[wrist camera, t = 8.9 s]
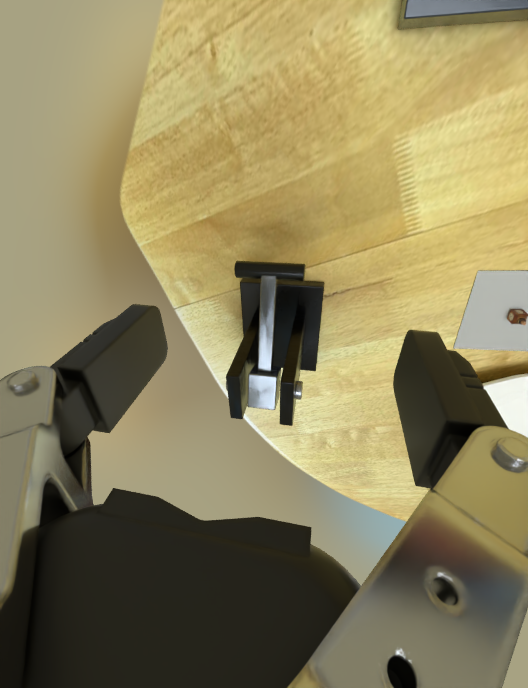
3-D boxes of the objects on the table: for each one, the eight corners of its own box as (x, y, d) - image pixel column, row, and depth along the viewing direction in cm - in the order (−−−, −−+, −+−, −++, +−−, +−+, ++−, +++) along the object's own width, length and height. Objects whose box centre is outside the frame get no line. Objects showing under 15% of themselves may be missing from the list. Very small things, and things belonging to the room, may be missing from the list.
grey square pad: (478, 270, 26) (487, 279, 25) (589, 270, 25) (606, 279, 23) (453, 348, 31) (459, 359, 29) (546, 352, 29) (558, 364, 27)
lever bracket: (242, 277, 31) (200, 342, 21) (324, 281, 29) (319, 353, 20) (247, 358, 36) (216, 438, 27) (316, 364, 35) (309, 451, 25)
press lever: (240, 260, 24) (232, 260, 21) (306, 263, 23) (304, 264, 20) (237, 392, 27) (229, 405, 24) (295, 399, 26) (293, 413, 23)
